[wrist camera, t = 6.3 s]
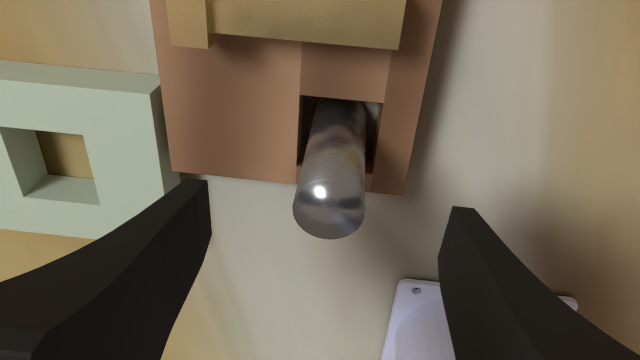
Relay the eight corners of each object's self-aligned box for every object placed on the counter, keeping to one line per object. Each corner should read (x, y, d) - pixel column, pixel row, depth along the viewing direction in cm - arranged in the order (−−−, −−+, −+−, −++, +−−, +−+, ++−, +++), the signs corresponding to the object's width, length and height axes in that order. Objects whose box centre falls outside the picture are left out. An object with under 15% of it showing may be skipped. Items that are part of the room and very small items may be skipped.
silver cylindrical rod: (368, 93, 19) (368, 186, 13) (362, 139, 20) (359, 242, 14) (316, 88, 19) (293, 177, 13) (313, 134, 20) (291, 235, 15)
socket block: (441, -45, 16) (450, -37, 14) (400, 170, 21) (402, 195, 19) (164, -69, 16) (140, -63, 15) (187, 148, 21) (171, 171, 20)
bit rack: (168, 76, 19) (149, 94, 18) (185, 222, 24) (172, 247, 22) (-57, 54, 20) (-96, 69, 18) (1, 202, 24) (-26, 225, 23)
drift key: (405, -28, 14) (410, -17, 13) (393, 47, 16) (396, 67, 14) (184, -47, 15) (161, -39, 13) (191, 28, 16) (170, 45, 14)
